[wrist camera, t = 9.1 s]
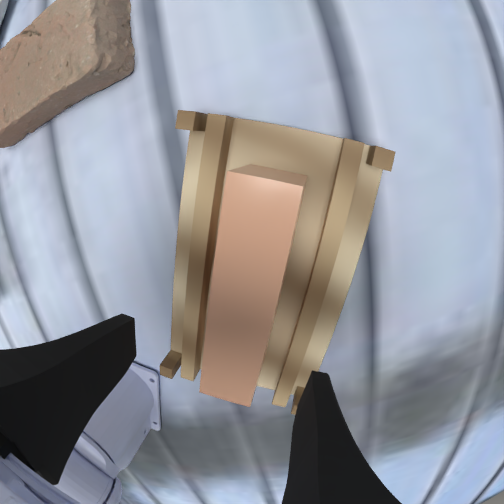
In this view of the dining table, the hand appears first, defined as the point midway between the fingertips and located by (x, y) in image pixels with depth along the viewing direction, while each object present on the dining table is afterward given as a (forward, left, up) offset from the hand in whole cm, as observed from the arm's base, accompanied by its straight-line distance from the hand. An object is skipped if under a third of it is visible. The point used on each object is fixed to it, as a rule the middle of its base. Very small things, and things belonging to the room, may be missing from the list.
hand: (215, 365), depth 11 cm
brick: (+12, +20, -10) cm, 25 cm away
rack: (0, 0, -9) cm, 9 cm away
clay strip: (0, 0, -8) cm, 8 cm away
